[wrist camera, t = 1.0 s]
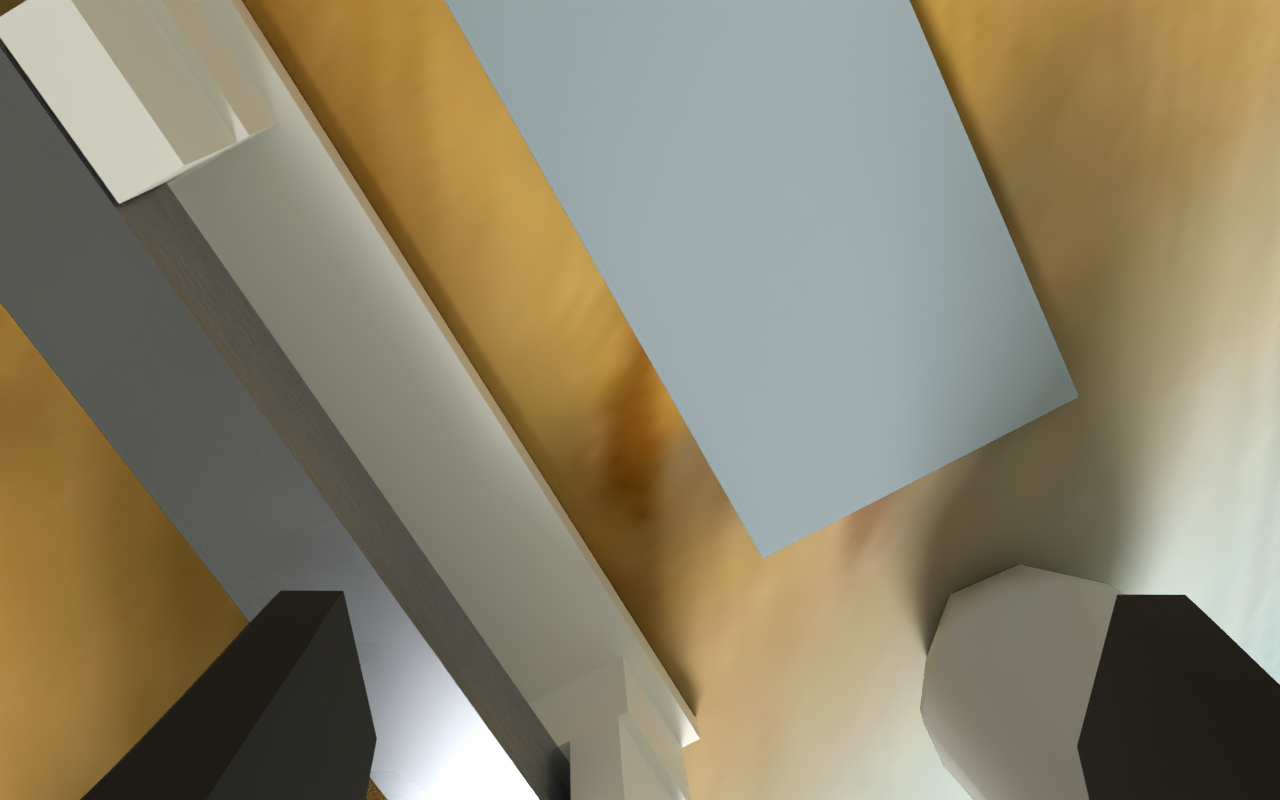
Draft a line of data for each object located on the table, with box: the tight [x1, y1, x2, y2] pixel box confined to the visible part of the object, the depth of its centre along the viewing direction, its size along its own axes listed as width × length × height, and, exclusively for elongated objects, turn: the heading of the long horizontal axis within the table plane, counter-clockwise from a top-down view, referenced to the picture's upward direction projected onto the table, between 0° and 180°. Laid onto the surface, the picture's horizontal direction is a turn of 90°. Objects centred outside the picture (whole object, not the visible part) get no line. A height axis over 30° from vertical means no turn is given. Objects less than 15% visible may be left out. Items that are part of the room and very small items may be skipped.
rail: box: [0, 0, 571, 800], centre depth 21 cm, size 2×22×2 cm, turn 28°
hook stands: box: [0, 0, 700, 800], centre depth 23 cm, size 7×20×6 cm, turn 28°
